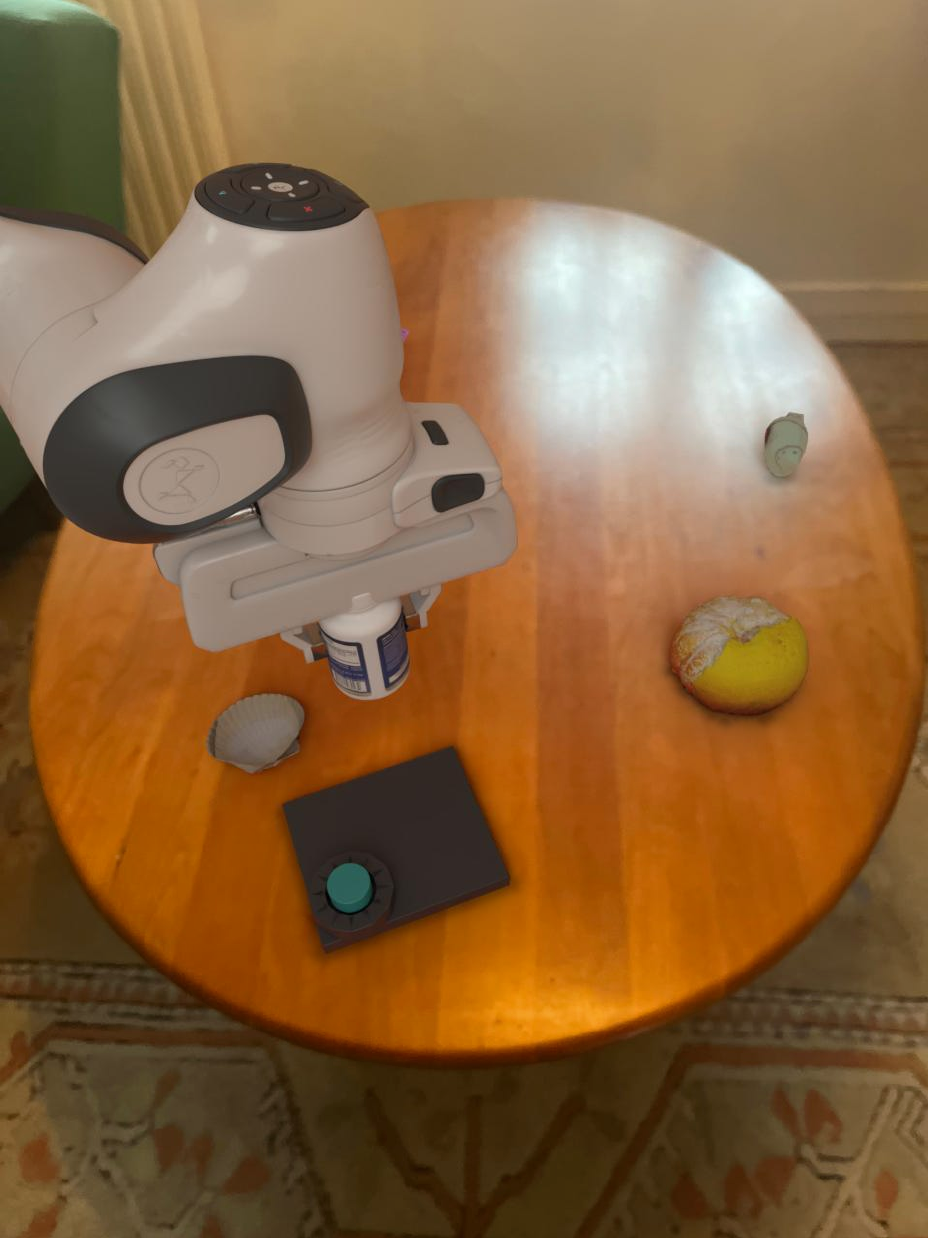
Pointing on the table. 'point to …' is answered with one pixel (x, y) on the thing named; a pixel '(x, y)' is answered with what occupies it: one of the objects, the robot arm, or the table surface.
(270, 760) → the seashell
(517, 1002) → the table surface
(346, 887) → the button
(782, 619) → the fruit
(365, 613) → the pill bottle
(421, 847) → the black button board
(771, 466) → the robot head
